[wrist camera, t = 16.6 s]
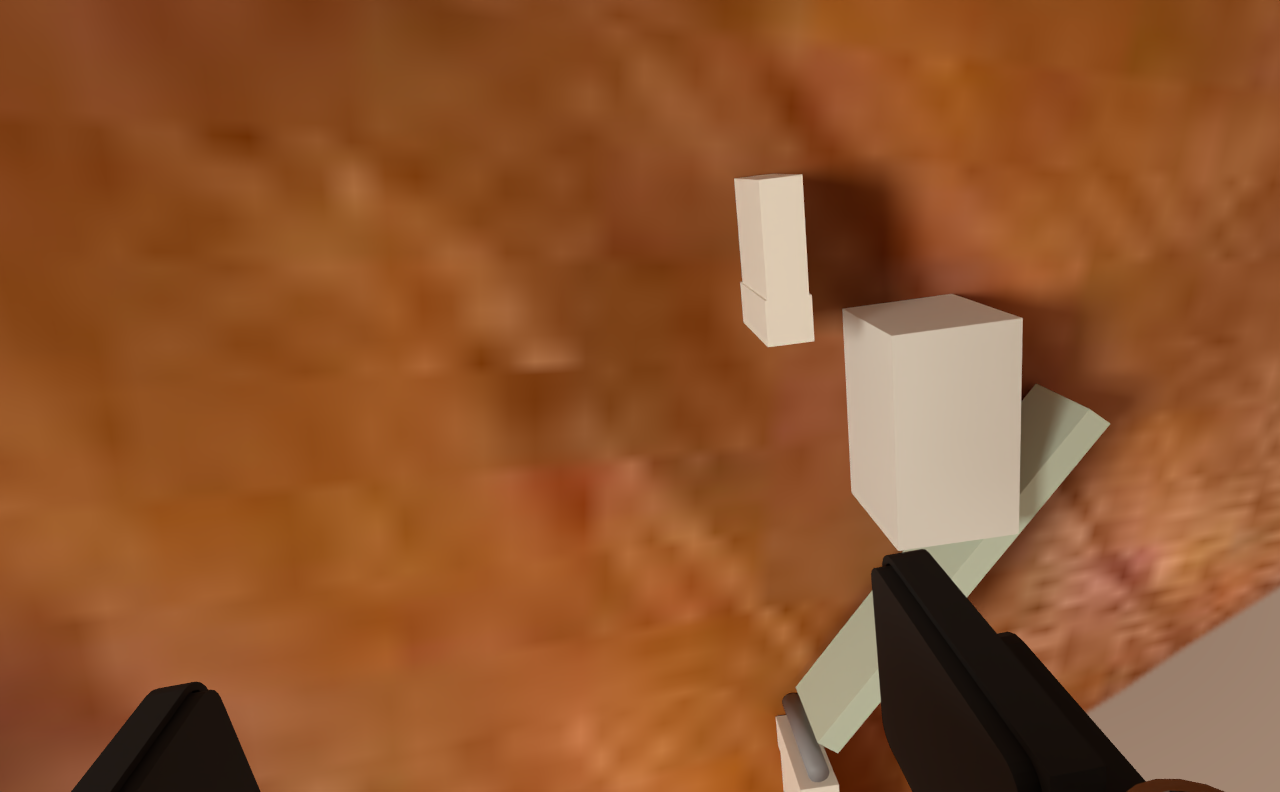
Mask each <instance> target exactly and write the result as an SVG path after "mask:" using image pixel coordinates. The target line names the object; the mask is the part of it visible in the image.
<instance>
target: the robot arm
mask: <svg viewBox="0 0 1280 792" xmlns="http://www.w3.org/2000/svg"><path fill="white" fill-rule="evenodd" d="M871 579H872V592H873V605H874V618H875V631H876V644H877V657H878V670H879V683H880V696H881V709H882V720H883V726H884V730H885V734H886V737H887V740H888V743H889V745H890V748H891V750H892V752H893V754H894V756H895V758H896V760H897V762H898V764H899V766H900V768H901V770H902V772H903V774H904V776H905V778H906V780H907V782H908V784H909V786H910V788H911V790H912V792H1224V791H1221V790H1219V789H1216V788H1213V787H1211V786H1209V785H1206V784H1201V783H1196V782H1191V781H1186V780H1182V779H1155V780H1151V781H1147V782H1146V781H1145V780H1144V779H1143V778H1142V777H1141V776H1140V774H1139V773H1138V772H1137V771H1136V770H1135V769H1134V768H1133V766H1132V765H1131V764H1130V763H1129V762H1128V761H1127V759H1125V757H1124V756H1123V755H1122V754H1121V753H1120V752H1119V751H1118V749H1117V748H1116V747H1115V746H1114V745H1113V743H1111V741H1110V740H1109V739H1108V738H1107V737H1106V736H1105V735H1104V733H1103V732H1102V731H1101V730H1100V729H1099V727H1098V726H1097V725H1096V724H1095V723H1094V722H1093V721H1092V719H1091V718H1090V717H1089V716H1088V715H1087V714H1086V713H1085V711H1084V710H1083V709H1082V708H1081V707H1080V706H1079V705H1078V703H1077V702H1076V701H1075V700H1074V699H1073V698H1072V697H1071V695H1070V694H1069V693H1068V692H1067V691H1066V690H1065V689H1064V687H1063V686H1062V685H1061V684H1060V683H1059V682H1058V680H1057V679H1056V678H1055V677H1054V676H1053V675H1052V674H1051V672H1050V671H1049V670H1048V669H1047V668H1046V667H1045V666H1044V664H1043V663H1042V662H1041V661H1040V660H1039V659H1038V658H1037V656H1036V655H1035V654H1034V653H1033V652H1032V651H1031V650H1030V648H1029V647H1028V646H1027V645H1026V644H1025V643H1024V642H1023V641H1022V640H1021V639H1020V638H1019V637H1018V636H1017V635H1016V634H1013V633H1010V632H1004V633H999V634H997V633H996V632H995V631H994V630H993V629H992V627H991V626H990V625H989V624H988V623H987V621H986V620H985V619H984V618H983V617H982V615H981V614H980V613H979V612H978V611H977V609H976V608H975V607H974V606H973V605H972V603H971V602H970V601H969V600H968V599H967V597H966V596H965V595H964V594H963V593H962V591H961V590H960V589H959V588H958V587H957V585H956V584H955V583H954V582H953V581H952V579H951V578H950V577H949V576H948V575H947V573H946V572H945V571H944V570H943V569H942V567H941V566H940V565H939V564H938V563H937V561H936V560H935V559H934V558H933V557H932V555H931V554H930V553H929V552H928V551H927V550H926V549H919V550H914V551H908V552H903V553H897V554H892V555H886V556H885V557H884V558H883V562H882V567H879V568H874V569H873V570H872V573H871ZM71 792H260V790H259V787H258V785H257V782H256V780H255V778H254V775H253V773H252V771H251V768H250V766H249V764H248V761H247V759H246V756H245V754H244V752H243V749H242V747H241V745H240V742H239V740H238V737H237V735H236V733H235V730H234V728H233V726H232V723H231V721H230V718H229V716H228V714H227V711H226V709H225V707H224V704H223V702H222V700H221V697H220V696H219V694H218V693H217V692H216V691H215V690H208V689H207V687H206V686H205V685H203V684H202V683H200V682H191V683H186V684H180V685H175V686H169V687H164V688H158V689H155V690H153V691H151V692H150V693H149V694H148V695H147V696H146V697H145V698H144V700H143V701H142V702H141V703H140V705H139V706H138V707H137V709H136V710H135V711H134V712H133V714H132V715H131V716H130V717H129V719H128V720H127V721H126V723H125V724H124V725H123V726H122V728H121V729H120V730H119V731H118V733H117V734H116V735H115V737H114V738H113V739H112V740H111V742H110V743H109V744H108V745H107V747H106V748H105V749H104V751H103V752H102V753H101V754H100V756H99V757H98V758H97V759H96V761H95V762H94V763H93V765H92V766H91V767H90V768H89V770H88V771H87V772H86V773H85V775H84V776H83V777H82V779H81V780H80V781H79V782H78V784H77V785H76V786H75V787H74V789H73V790H72V791H71Z"/></svg>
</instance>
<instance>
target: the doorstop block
mask: <svg viewBox="0 0 1280 792" xmlns="http://www.w3.org/2000/svg"><path fill="white" fill-rule="evenodd" d="M842 310H843V330H844V350H845V370H846V390H847V410H848V430H849V450H850V470H851V490H852V494H853V495H854V496H855V498H856V499H857V500H858V501H859V503H860V504H861V505H862V506H863V508H864V509H865V510H866V511H867V512H868V514H869V515H870V516H871V517H872V519H873V520H874V521H875V522H876V524H877V525H878V526H879V527H880V529H881V530H882V531H883V532H884V534H885V535H886V536H887V537H888V539H889V540H890V541H891V542H892V544H893V545H894V546H895V547H896V549H897V550H898V551H902V550H909V549H916V548H923V547H930V546H937V545H944V544H951V543H958V542H965V541H972V540H979V539H986V538H993V537H1001V536H1008V535H1015V534H1019V498H1020V443H1021V388H1022V333H1023V318H1021V317H1018V316H1015V315H1012V314H1010V313H1007V312H1004V311H1001V310H998V309H995V308H992V307H989V306H986V305H983V304H980V303H978V302H975V301H972V300H969V299H966V298H963V297H960V296H957V295H954V294H947V295H940V296H932V297H925V298H918V299H910V300H903V301H896V302H888V303H881V304H873V305H866V306H859V307H851V308H844V309H842Z"/></svg>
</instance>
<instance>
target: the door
mask: <svg viewBox="0 0 1280 792" xmlns="http://www.w3.org/2000/svg"><path fill="white" fill-rule="evenodd" d="M1109 425H1110V423H1109V422H1107V421H1106V420H1105V419H1103V418H1102V417H1100V416H1099V415H1097V414H1096V413H1094V412H1093V411H1092V410H1090V409H1088V408H1086V407H1084V406H1082V405H1080V404H1078V403H1076V402H1074V401H1072V400H1070V399H1068V398H1065V397H1063V396H1061V395H1059V394H1057V393H1055V392H1053V391H1051V390H1049V389H1047V388H1045V387H1043V386H1041V385H1038V384H1035V385H1034V386H1033V388H1032V389H1031V390H1030V392H1029V393H1028V394H1027V395H1026V397H1025V398H1024V399H1023V400H1022V402H1021V443H1020V498H1019V534H1020V533H1021V531H1022V530H1023V529H1024V528H1025V527H1026V525H1027V524H1028V523H1029V522H1030V521H1031V519H1032V518H1033V517H1034V516H1035V514H1036V513H1037V512H1038V511H1039V510H1040V508H1041V507H1042V506H1043V505H1044V504H1045V502H1046V501H1047V500H1048V499H1049V498H1050V496H1051V495H1052V494H1053V493H1054V491H1055V490H1056V489H1057V488H1058V487H1059V485H1060V484H1061V483H1062V482H1063V481H1064V479H1065V478H1066V477H1067V476H1068V475H1069V473H1070V472H1071V471H1072V470H1073V468H1074V467H1075V466H1076V465H1077V464H1078V462H1079V461H1080V460H1081V459H1082V458H1083V456H1084V455H1085V454H1086V453H1087V452H1088V450H1089V449H1090V448H1091V447H1092V445H1093V444H1094V443H1095V442H1096V441H1097V439H1098V438H1099V437H1100V436H1101V435H1102V433H1103V432H1104V431H1105V430H1106V429H1107V427H1108V426H1109ZM1019 534H1015V535H1008V536H1001V537H993V538H986V539H979V540H972V541H965V542H958V543H951V544H944V545H937V546H930V547H923V548H916V549H909V550H904V551H903V552H908V551H914V550H919V549H926V550H927V551H928V552H929V553H930V554H931V555H932V557H933V558H934V559H935V560H936V561H937V563H938V564H939V565H940V566H941V567H942V569H943V570H944V571H945V572H946V573H947V575H948V576H949V577H950V578H951V579H952V581H953V582H954V583H955V584H956V585H957V587H958V588H959V589H960V590H961V591H962V593H963V594H964V595H965V596H966V597H968V596H969V594H970V593H971V592H972V591H973V590H974V588H975V587H976V586H977V585H978V583H979V582H980V581H981V580H982V579H983V577H984V576H985V575H986V574H987V573H988V571H989V570H990V569H991V568H992V567H993V565H994V564H995V563H996V562H997V560H998V559H999V558H1000V557H1001V556H1002V554H1003V553H1004V552H1005V551H1006V550H1007V548H1008V547H1009V546H1010V545H1011V544H1012V542H1013V541H1014V540H1015V539H1016V537H1017V536H1018V535H1019ZM903 552H902V553H903ZM796 689H797V692H798V694H799V695H798V694H795V693H790V694H787V695H786V696H785V697H784V698H783V700H782V704H783V707H784V709H785V712H786V715H787V718H788V721H789V724H790V726H791V729H792V732H793V735H794V738H795V740H796V743H797V746H798V749H799V752H800V755H801V757H802V760H803V763H804V766H805V769H806V771H807V774H808V777H809V779H810V780H811V781H813V782H822V781H824V780H826V779H827V778H828V776H829V768H828V766H827V763H826V761H825V758H824V756H823V753H822V751H821V748H820V746H819V744H821V745H823V746H825V747H826V748H828V749H830V750H832V751H834V752H836V753H839V752H840V751H841V749H842V748H843V747H844V746H845V744H846V743H847V742H848V741H849V740H850V738H851V737H852V736H853V735H854V734H855V732H856V731H857V730H858V729H859V728H860V726H861V725H862V724H863V723H864V721H865V720H866V719H867V718H868V717H869V715H870V714H871V713H872V712H873V711H874V709H875V708H876V707H877V706H878V705H879V703H880V702H881V696H880V683H879V670H878V657H877V644H876V631H875V618H874V605H873V592H872V591H871V593H870V594H869V595H868V596H867V598H866V599H865V600H864V601H863V603H862V604H861V605H860V606H859V608H858V609H857V610H856V612H855V613H854V614H853V615H852V617H851V618H850V619H849V620H848V622H847V623H846V624H845V625H844V627H843V628H842V629H841V630H840V632H839V633H838V634H837V636H836V637H835V638H834V639H833V641H832V642H831V643H830V644H829V646H828V647H827V648H826V649H825V651H824V652H823V653H822V655H821V656H820V657H819V658H818V660H817V661H816V662H815V663H814V665H813V666H812V667H811V668H810V670H809V671H808V672H807V673H806V675H805V676H804V677H803V679H802V680H801V681H800V682H799V684H798V685H797V686H796Z"/></svg>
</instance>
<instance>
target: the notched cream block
mask: <svg viewBox="0 0 1280 792" xmlns="http://www.w3.org/2000/svg"><path fill="white" fill-rule="evenodd" d="M734 183H735V195H736V207H737V220H738V232H739V244H740V257H741V269H742V282H740V285H741V297H742V309H743V322H744V323H745V324H746V325H747V326H748V327H749V328H750V329H751V330H752V331H753V333H754V334H755V335H756V336H757V337H758V338H759V339H760V340H761V341H762V342H763V343H764V344H765V345H766V346H767V347H773V346H781V345H789V344H796V343H804V342H812V341H814V326H813V308H812V295H811V294H810V293H809V283H808V265H807V248H806V230H805V212H804V194H803V177H802V174H767V175H759V176H751V177H743V178H735V179H734ZM776 725H777V738H778V746H779V749H780V752H781V764H782V776H783V788H784V792H839V784H838V781H837V779H836V776H835V774H834V771H833V769H832V766H831V764H830V761H829V759H828V756H827V754H826V751H825V749H824V746H823V745H821V744H819V746H820V748H821V751H822V753H823V756H824V758H825V761H826V763H827V766H828V768H829V776H828V778H827V779H826V780H824V781H822V782H813V781H811V780H810V779H809V777H808V774H807V771H806V769H805V766H804V763H803V760H802V757H801V755H800V752H799V749H798V746H797V743H796V740H795V738H794V735H793V732H792V729H791V726H790V724H789V721H788V718H787V715H783V716H776Z"/></svg>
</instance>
